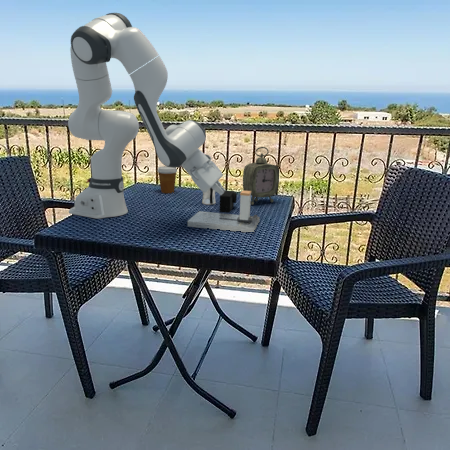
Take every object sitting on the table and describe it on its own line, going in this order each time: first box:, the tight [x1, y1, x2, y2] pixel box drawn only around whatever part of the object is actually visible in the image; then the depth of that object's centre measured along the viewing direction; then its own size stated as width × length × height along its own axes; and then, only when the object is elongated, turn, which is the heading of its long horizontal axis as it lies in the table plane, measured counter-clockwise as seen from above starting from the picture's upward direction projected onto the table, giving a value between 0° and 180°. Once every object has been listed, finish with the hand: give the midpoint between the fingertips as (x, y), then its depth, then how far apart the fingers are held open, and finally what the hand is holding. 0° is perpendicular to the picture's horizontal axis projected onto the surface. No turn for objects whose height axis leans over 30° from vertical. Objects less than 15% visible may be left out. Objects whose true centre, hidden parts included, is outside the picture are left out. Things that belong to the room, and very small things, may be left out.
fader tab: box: [237, 190, 252, 222], centre depth 140 cm, size 5×4×10 cm
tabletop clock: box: [242, 146, 280, 206], centre depth 173 cm, size 14×9×25 cm, turn 120°
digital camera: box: [219, 190, 238, 214], centre depth 163 cm, size 10×5×7 cm, turn 170°
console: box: [187, 210, 260, 233], centre depth 143 cm, size 24×14×4 cm, turn 76°
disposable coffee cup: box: [156, 165, 178, 194], centre depth 189 cm, size 10×10×12 cm
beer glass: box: [201, 188, 217, 206], centre depth 170 cm, size 7×7×15 cm
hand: (223, 193), depth 141 cm, fingers closed
